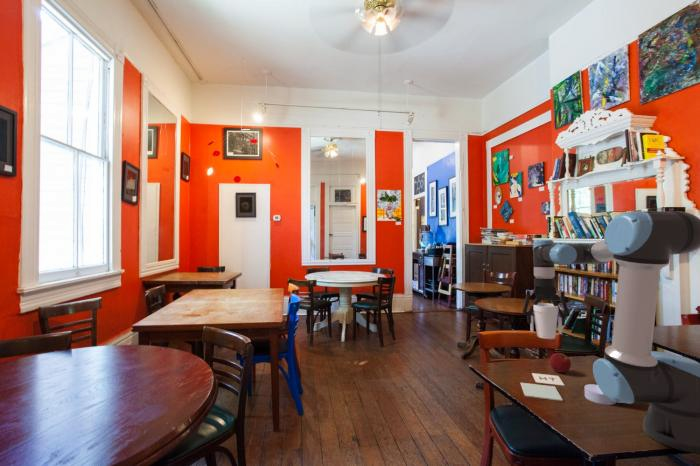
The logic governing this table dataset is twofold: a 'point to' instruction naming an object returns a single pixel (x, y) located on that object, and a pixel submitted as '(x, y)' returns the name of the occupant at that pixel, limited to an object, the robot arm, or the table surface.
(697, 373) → the robot arm
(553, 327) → the foam cup
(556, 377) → the cream card
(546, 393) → the sage mat
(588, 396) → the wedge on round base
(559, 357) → the apple
